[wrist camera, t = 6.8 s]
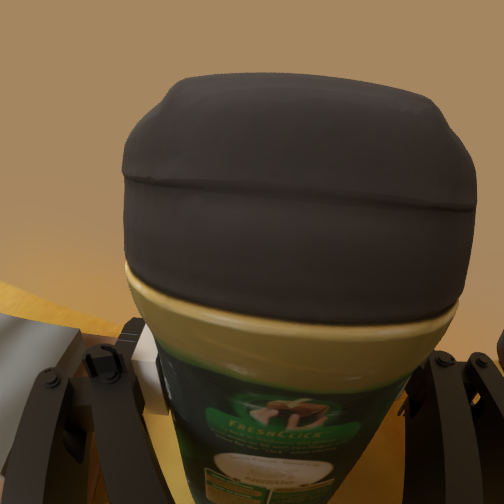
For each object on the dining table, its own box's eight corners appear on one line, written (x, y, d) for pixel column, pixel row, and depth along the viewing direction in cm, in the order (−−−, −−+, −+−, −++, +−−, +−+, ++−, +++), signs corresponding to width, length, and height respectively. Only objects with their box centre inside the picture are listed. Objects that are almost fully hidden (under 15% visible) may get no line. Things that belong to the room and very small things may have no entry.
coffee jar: (215, 405, 18) (214, 114, 12) (324, 418, 17) (389, 130, 11) (175, 518, 9) (44, 66, 3) (320, 538, 8) (558, 115, 2)
